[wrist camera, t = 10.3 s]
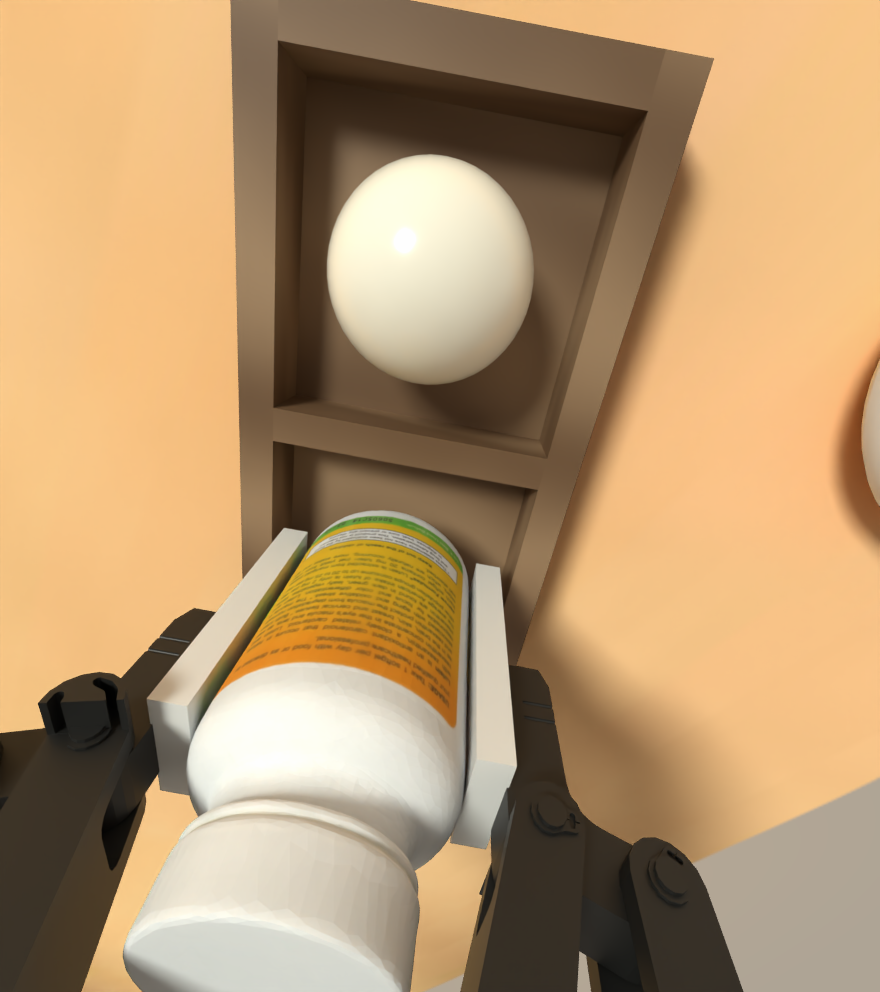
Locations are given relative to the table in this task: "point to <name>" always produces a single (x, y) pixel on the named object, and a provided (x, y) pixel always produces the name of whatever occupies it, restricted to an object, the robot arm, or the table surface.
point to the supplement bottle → (321, 777)
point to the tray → (554, 240)
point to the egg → (430, 269)
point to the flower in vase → (872, 434)
